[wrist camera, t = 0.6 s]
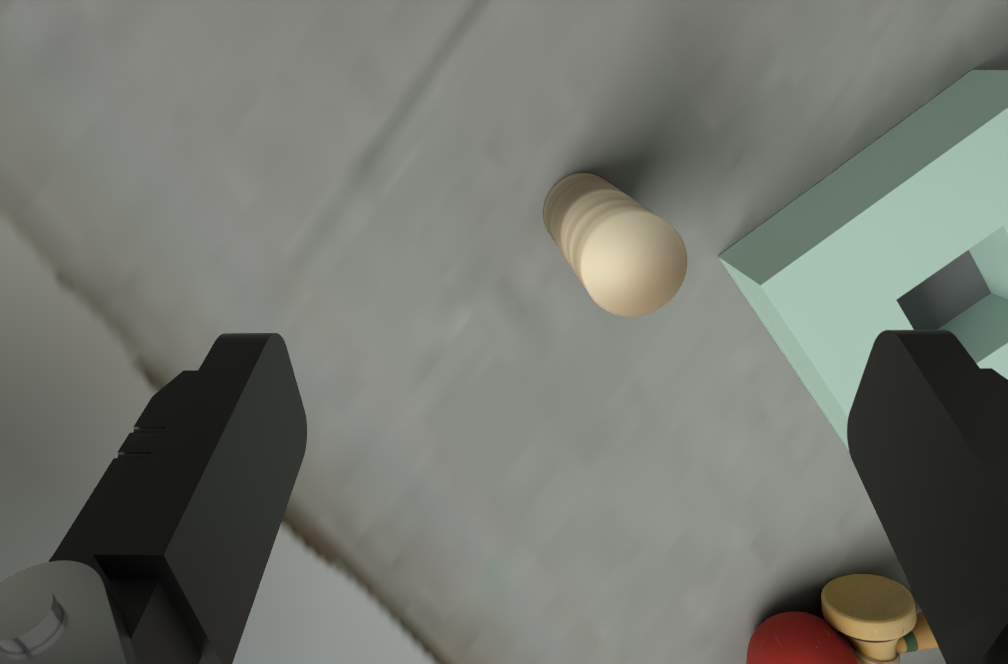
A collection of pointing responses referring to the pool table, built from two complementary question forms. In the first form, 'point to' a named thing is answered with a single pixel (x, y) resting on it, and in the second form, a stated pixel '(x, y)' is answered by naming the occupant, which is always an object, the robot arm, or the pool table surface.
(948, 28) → the pool table surface
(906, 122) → the socket block
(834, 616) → the kendama
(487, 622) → the pool table surface
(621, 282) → the pin
